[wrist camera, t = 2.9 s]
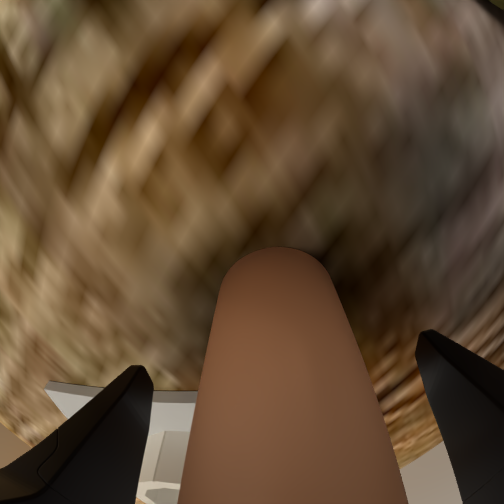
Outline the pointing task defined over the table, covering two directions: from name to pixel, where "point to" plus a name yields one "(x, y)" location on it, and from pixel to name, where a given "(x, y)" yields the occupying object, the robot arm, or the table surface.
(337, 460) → the plug
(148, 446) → the plate with ring collar
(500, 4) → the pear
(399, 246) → the table surface
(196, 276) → the table surface
